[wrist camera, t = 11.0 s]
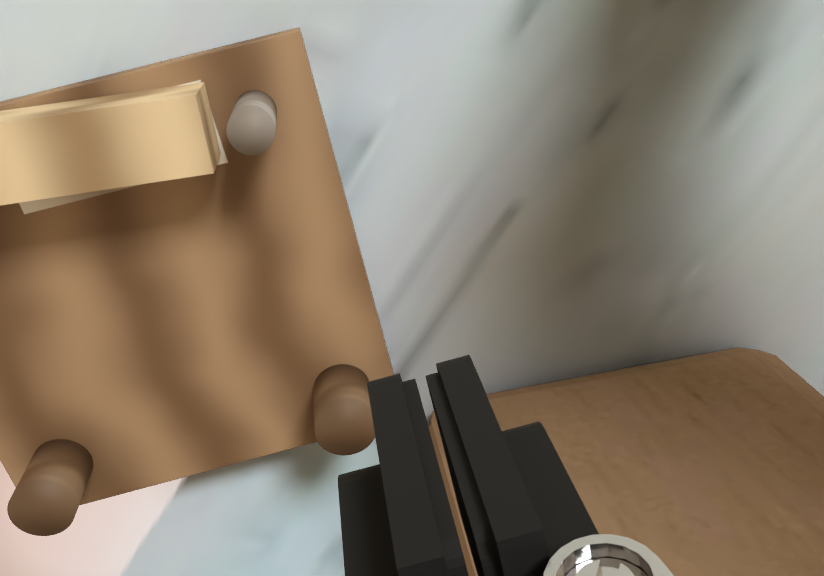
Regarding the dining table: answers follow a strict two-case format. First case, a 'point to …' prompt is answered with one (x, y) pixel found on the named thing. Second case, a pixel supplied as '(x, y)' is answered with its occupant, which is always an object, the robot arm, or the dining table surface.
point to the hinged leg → (106, 143)
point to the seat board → (187, 300)
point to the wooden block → (687, 459)
